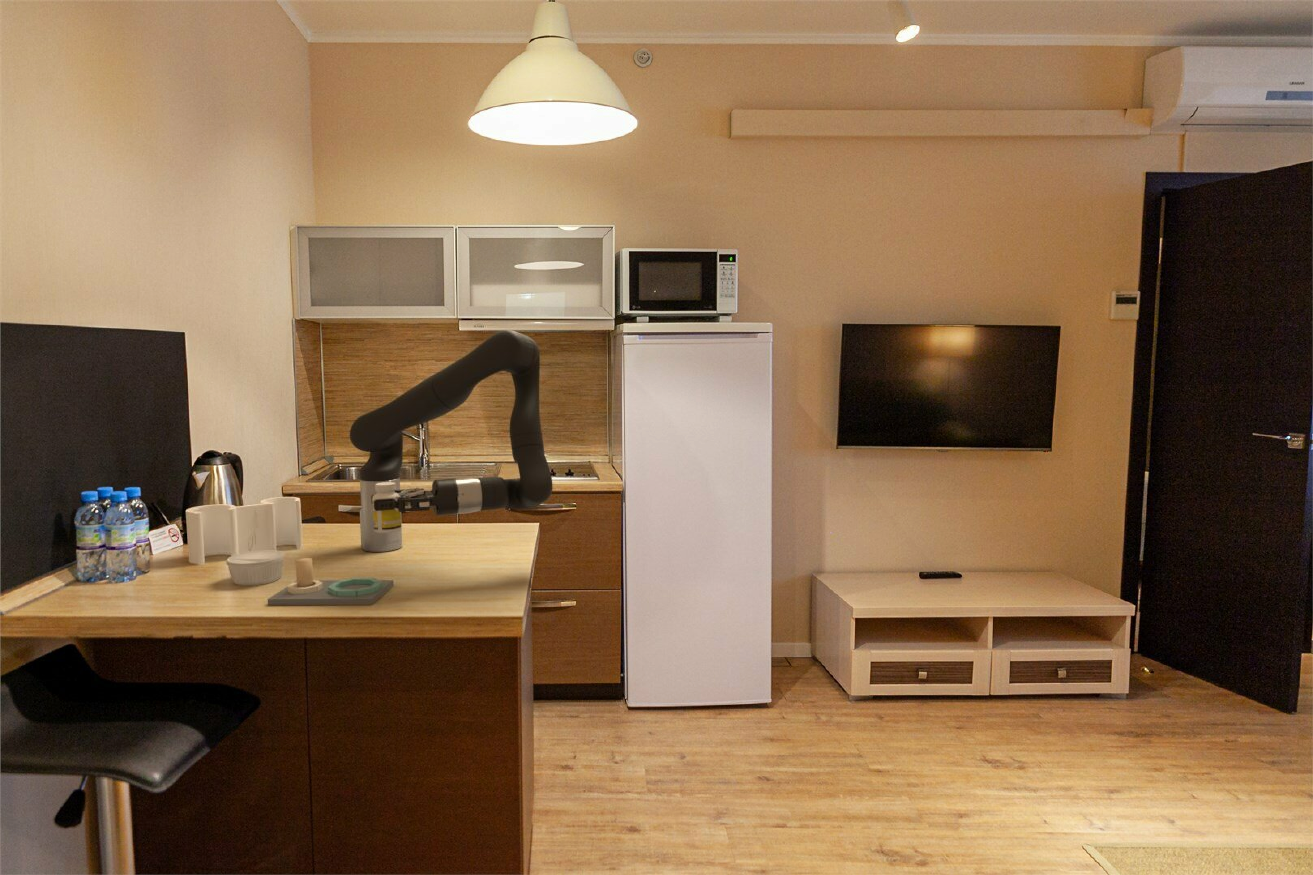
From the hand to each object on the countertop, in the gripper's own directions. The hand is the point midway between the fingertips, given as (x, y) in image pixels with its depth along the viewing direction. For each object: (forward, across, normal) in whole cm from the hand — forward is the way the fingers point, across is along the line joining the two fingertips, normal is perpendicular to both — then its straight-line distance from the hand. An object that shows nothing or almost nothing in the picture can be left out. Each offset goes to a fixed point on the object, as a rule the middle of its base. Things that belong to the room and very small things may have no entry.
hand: (373, 502), depth 171 cm
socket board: (+9, +2, +18) cm, 20 cm away
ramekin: (+23, -17, +18) cm, 34 cm away
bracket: (+26, -44, +18) cm, 54 cm away
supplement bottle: (-3, 0, +6) cm, 7 cm away
